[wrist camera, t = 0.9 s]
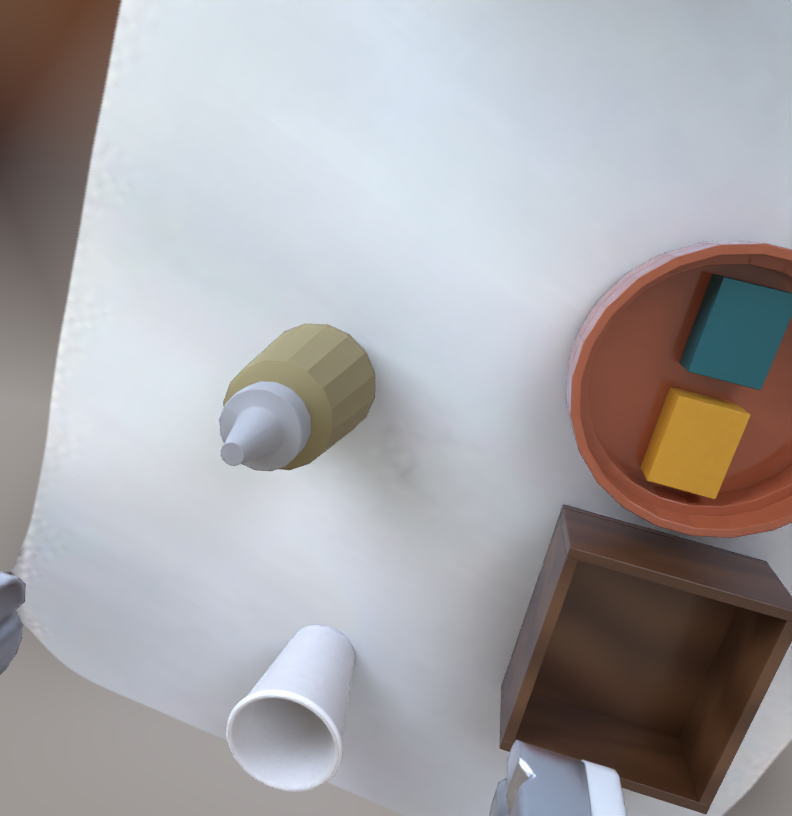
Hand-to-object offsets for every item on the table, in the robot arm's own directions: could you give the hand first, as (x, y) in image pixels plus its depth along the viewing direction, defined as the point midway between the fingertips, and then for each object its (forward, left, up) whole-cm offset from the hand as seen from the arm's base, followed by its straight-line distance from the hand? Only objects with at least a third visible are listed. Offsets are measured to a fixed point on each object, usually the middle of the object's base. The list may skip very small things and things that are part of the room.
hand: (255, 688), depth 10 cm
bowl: (0, +17, -38) cm, 41 cm away
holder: (+19, +18, -38) cm, 46 cm away
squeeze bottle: (+6, -8, -38) cm, 39 cm away
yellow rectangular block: (+3, +17, -37) cm, 41 cm away
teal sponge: (-4, +17, -37) cm, 41 cm away
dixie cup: (+30, -4, -38) cm, 48 cm away
